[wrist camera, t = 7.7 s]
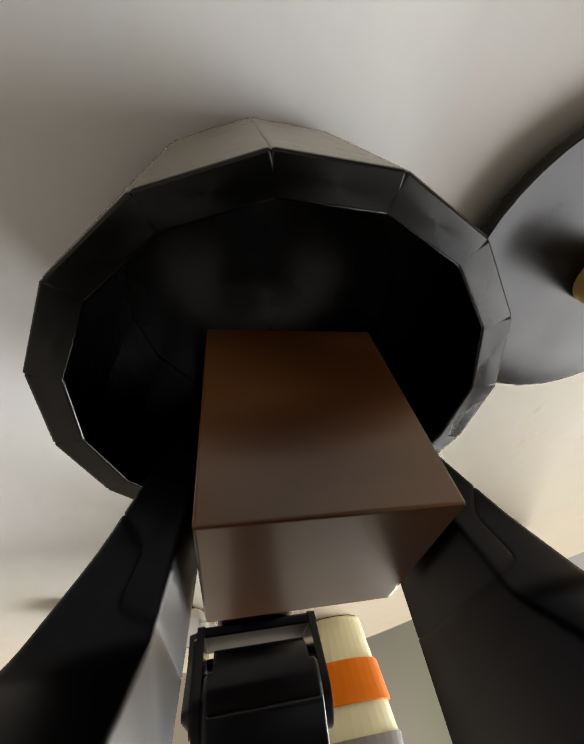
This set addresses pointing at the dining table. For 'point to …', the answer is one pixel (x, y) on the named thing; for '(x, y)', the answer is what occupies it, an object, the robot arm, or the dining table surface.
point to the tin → (258, 288)
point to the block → (309, 474)
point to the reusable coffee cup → (356, 686)
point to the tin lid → (543, 267)
